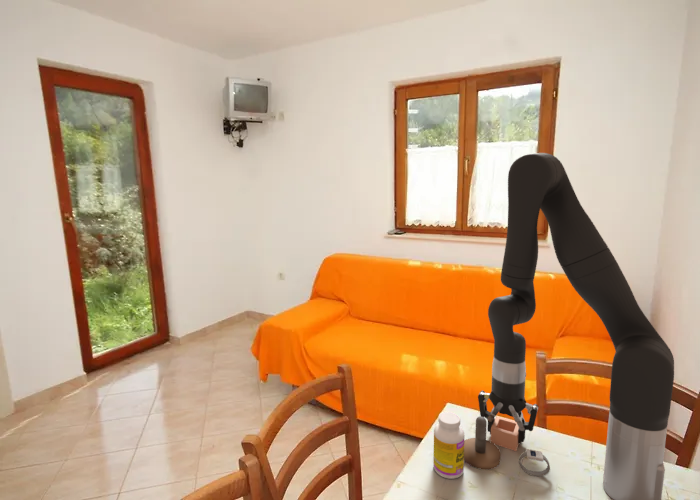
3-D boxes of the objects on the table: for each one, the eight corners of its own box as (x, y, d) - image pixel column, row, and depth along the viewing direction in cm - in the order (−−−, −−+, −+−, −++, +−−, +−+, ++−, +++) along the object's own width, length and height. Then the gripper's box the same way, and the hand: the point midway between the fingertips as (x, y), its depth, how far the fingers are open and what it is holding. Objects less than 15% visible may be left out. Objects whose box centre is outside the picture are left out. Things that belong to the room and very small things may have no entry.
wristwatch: (548, 472, 86) (549, 452, 85) (550, 481, 83) (551, 460, 82) (517, 466, 88) (518, 446, 87) (518, 475, 85) (519, 454, 84)
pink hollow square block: (520, 437, 98) (521, 422, 97) (516, 451, 93) (517, 436, 92) (495, 429, 101) (496, 415, 100) (490, 442, 96) (490, 428, 95)
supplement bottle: (458, 484, 83) (459, 430, 81) (429, 473, 87) (429, 421, 84) (467, 465, 89) (468, 414, 87) (439, 455, 92) (439, 405, 90)
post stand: (504, 451, 93) (505, 413, 91) (495, 475, 85) (497, 434, 84) (466, 439, 98) (467, 402, 96) (455, 460, 90) (456, 421, 89)
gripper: (474, 374, 95) (472, 436, 97) (539, 389, 87) (535, 456, 90) (482, 362, 101) (480, 421, 104) (543, 375, 93) (539, 438, 96)
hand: (505, 437), depth 97 cm, fingers closed on pink hollow square block, 6 cm apart
